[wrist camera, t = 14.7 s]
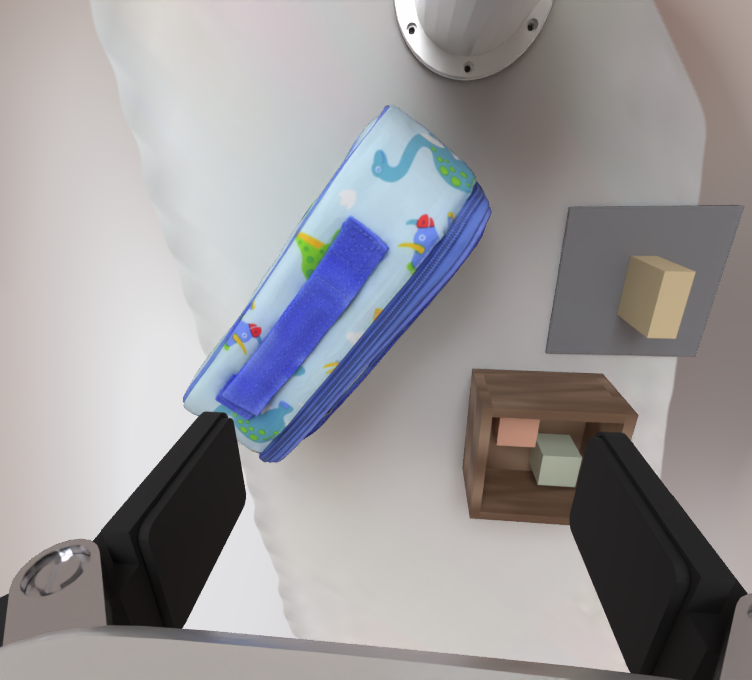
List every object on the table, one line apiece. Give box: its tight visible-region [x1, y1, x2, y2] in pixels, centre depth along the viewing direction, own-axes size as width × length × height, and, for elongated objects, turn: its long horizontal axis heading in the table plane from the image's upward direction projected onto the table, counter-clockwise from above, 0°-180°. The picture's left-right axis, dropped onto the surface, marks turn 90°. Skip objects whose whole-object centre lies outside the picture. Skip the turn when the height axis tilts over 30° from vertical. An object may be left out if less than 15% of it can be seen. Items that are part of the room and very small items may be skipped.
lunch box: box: [183, 105, 491, 463], centre depth 33 cm, size 26×11×21 cm, turn 143°
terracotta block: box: [491, 417, 540, 447], centre depth 45 cm, size 4×4×4 cm
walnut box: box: [463, 369, 638, 525], centre depth 45 cm, size 14×14×8 cm
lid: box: [546, 205, 744, 357], centre depth 38 cm, size 15×15×7 cm
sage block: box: [529, 433, 582, 487], centre depth 47 cm, size 4×4×4 cm
